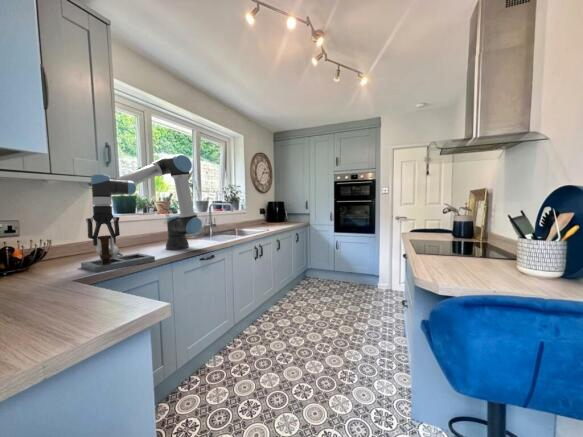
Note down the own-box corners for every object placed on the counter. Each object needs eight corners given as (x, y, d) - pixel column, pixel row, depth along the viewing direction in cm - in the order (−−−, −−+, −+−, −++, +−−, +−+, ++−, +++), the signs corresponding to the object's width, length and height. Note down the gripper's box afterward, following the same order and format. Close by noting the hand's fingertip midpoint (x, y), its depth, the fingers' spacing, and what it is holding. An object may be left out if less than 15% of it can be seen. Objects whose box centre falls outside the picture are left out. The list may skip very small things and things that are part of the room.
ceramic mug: (98, 260, 139) (97, 247, 138) (105, 257, 146) (104, 245, 146) (119, 259, 141) (119, 246, 141) (125, 256, 149) (124, 244, 149)
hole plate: (138, 257, 145) (138, 253, 145) (154, 260, 135) (154, 256, 135) (81, 267, 123) (80, 262, 123) (95, 272, 113) (95, 267, 112)
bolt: (104, 266, 121) (103, 236, 120) (96, 266, 122) (94, 236, 121) (115, 263, 126) (113, 235, 125) (107, 263, 127) (105, 235, 126)
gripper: (120, 205, 132) (122, 247, 133) (76, 205, 117) (79, 253, 118) (126, 205, 128) (128, 248, 129) (81, 205, 113) (85, 255, 114)
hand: (105, 250), depth 124 cm, fingers closed on bolt, 5 cm apart
